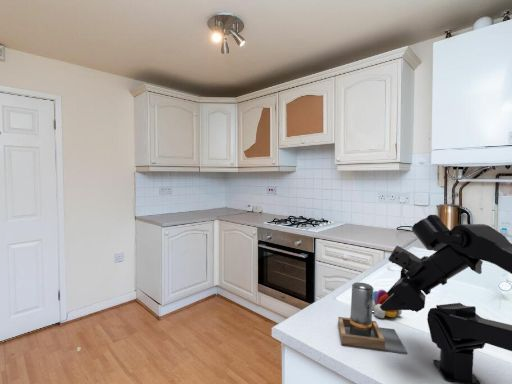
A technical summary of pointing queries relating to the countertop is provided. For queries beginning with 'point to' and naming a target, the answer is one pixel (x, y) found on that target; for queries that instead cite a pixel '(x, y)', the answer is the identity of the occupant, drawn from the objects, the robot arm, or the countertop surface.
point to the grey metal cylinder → (361, 309)
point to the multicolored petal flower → (378, 300)
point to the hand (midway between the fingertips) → (384, 301)
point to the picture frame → (371, 338)
